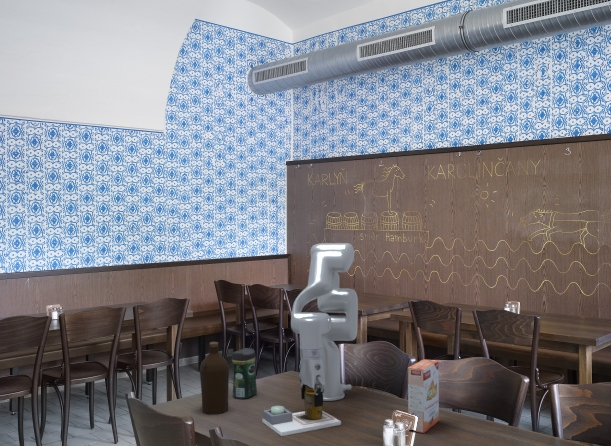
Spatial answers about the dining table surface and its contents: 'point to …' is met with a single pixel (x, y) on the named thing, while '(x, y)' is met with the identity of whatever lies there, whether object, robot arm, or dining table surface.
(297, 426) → the board
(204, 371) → the olive oil
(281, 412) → the button
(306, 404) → the condiment
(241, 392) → the coffee jar
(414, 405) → the cracker box
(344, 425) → the dining table surface
